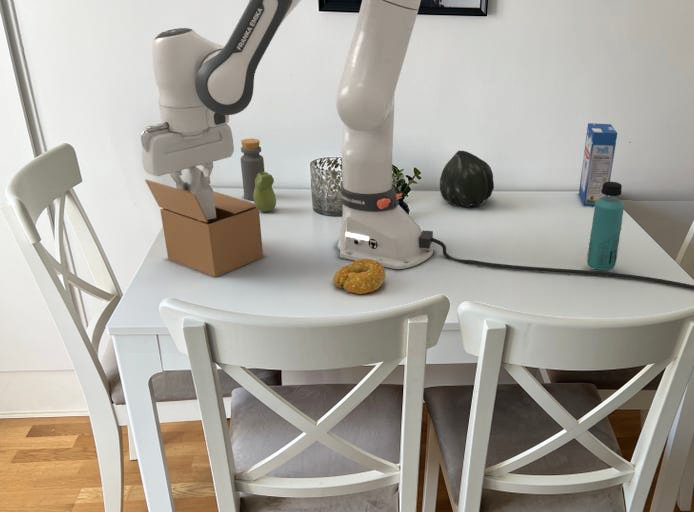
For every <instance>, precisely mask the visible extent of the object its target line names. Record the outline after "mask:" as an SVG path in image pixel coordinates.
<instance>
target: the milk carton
mask: <svg viewBox="0 0 694 512" xmlns="http://www.w3.org/2000/svg"><path fill="white" fill-rule="evenodd" d="M617 139H618V132H617V130H616V129H615V127H613V125H612V123H594V122H593V123H591V122H588V123H587V128H586V135H585V143H584V150H583V158H582V167H581V174H580V175H581V176H580V181H579V189H578V197H579V199H580V201H581V203H582V206H583V207H593V208H595V202H596V201H597V200H598V199H600V198H601V197H604V196H608V195H604V194H602V192H601V191H602V187H603V184H604V183H605V182H611V177H612V173H613V172H612V171H613V164H614V157H615V151H616V146H617V145H616V144H617Z"/></svg>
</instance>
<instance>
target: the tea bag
mask: <svg viewBox="0 0 694 512" xmlns="http://www.w3.org/2000/svg"><path fill="white" fill-rule="evenodd" d="M182 181H184V182H187V184H188V186H187V187H188V190H187V191H186V192H190V193H193V194H195V196H196V198H197V200H198V202H199V204H200V206H201V208H202V210H203V212H204V214H205V216H206V218H207V220H209V219H214V218H216V210H215V202H214V194H213V191H214V189H213V188H212V186H211V184H209V183H208V182H207V180H206V178H205V176H204V174H203V171H202V169H200V168H198V166H195V167H192V168H188V169H186V172H185V175H184V178H183V179H182ZM198 221H200V220H198Z"/></svg>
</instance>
